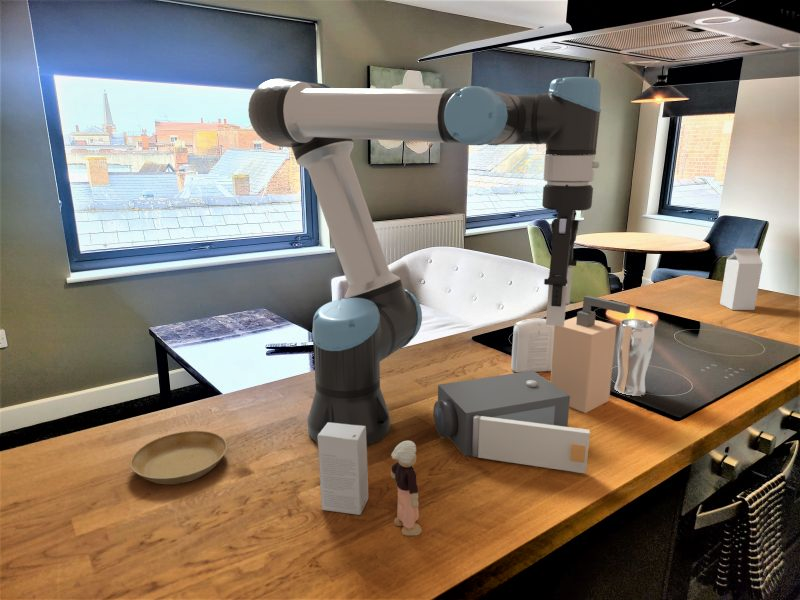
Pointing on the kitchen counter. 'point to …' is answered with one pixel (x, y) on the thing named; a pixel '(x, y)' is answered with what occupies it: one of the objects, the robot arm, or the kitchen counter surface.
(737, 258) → the milk carton
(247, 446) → the kitchen counter surface
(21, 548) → the kitchen counter surface
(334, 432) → the skincare box
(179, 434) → the plant saucer
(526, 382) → the camera housing
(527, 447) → the side door
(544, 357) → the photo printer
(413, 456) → the grandmother figurine
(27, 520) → the kitchen counter surface
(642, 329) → the beer glass
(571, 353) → the soap dispenser
